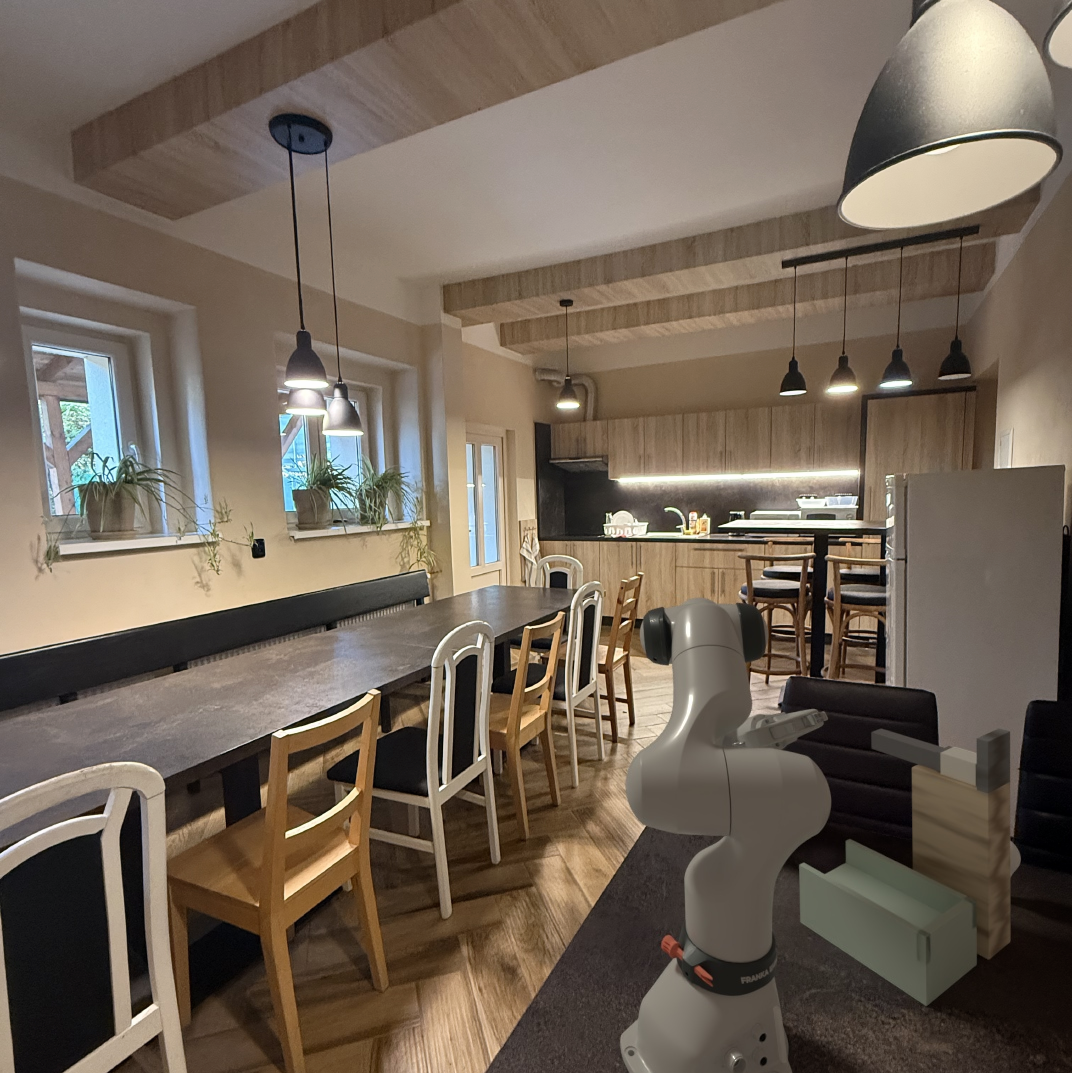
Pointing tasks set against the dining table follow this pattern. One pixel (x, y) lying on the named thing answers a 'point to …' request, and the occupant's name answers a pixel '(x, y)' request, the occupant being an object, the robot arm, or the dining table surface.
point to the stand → (969, 836)
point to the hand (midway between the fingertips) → (810, 721)
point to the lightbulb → (1014, 858)
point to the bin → (892, 920)
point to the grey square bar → (928, 755)
